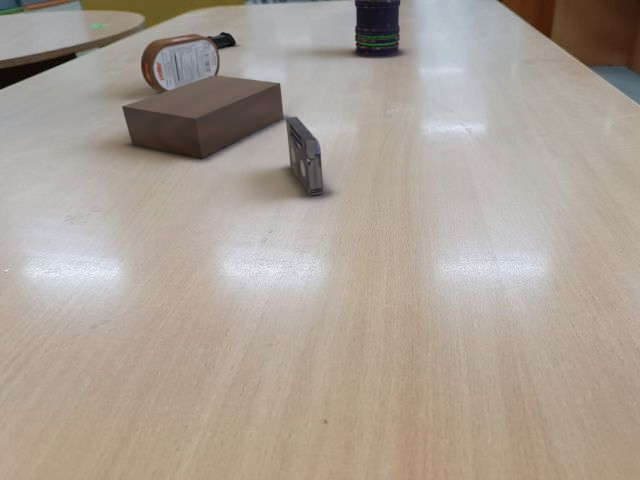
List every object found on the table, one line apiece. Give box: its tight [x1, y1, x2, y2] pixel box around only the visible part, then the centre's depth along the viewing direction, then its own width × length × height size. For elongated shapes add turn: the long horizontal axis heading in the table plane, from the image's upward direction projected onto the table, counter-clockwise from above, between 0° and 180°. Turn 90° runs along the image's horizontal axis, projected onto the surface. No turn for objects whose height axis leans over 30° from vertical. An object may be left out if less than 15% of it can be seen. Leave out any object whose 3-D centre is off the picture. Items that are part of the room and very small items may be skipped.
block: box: [121, 74, 284, 160], centre depth 70 cm, size 12×18×5 cm, turn 153°
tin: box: [140, 33, 221, 93], centre depth 88 cm, size 15×3×8 cm, turn 145°
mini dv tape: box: [285, 116, 324, 197], centre depth 56 cm, size 8×2×6 cm, turn 21°
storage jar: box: [354, 0, 402, 58], centre depth 110 cm, size 10×10×15 cm
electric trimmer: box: [205, 31, 237, 48], centre depth 118 cm, size 4×16×3 cm, turn 146°
